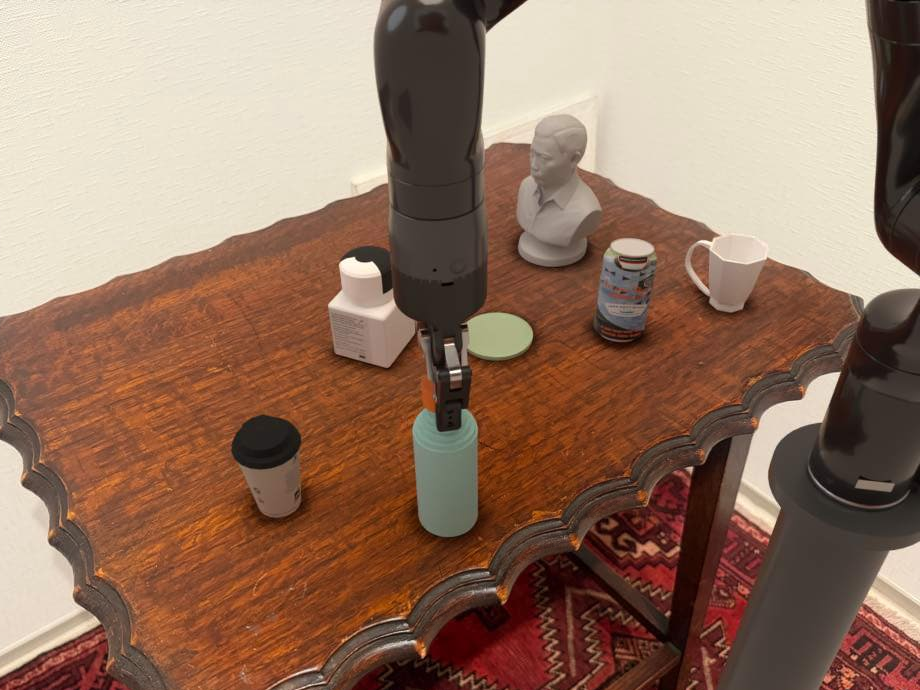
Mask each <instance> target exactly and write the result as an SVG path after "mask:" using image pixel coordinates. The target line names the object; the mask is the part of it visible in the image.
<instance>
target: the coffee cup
mask: <svg viewBox="0 0 920 690" xmlns="http://www.w3.org/2000/svg"><path fill="white" fill-rule="evenodd" d="M301 446H302V435H301V433H300V431H299V429H298V427H296V426H295V424H293V423H292V422H290V421H289V420H287V419H285V418H282V417H276V416H272V415H267V414H259V415H257V416H256V415H255V416H253V417H250V418H249V419H248V420H246V421H245V422H243V423H242V424H241V427H240V428H239V429H238V430H237V431H236V432H235V434H234V436H233V438H232V441H231V446H230V447H231V450H230V451H231V453H230V454H231V455H232V457H233V460H235V462H237V463H238V465H239V467H240V470H241V472H242V474H243V476H244V478H245V480H246V483H247V485H248V487H249V489H250V492H251V494H252V496H253V499H254V500H255V502H256V505H257V508H258V509H259V511H260V512H261V513H262V514H263V515H264V516H267V517H269V518H275V519H276V518H284V517H287V516H289V515H291V514H293V513H294V512H296V511H297V509H298V508H299V507H300V504H301V502H302V488H301V487H302V486H301V485H302V484H301V455H300V451H301V450H300V448H301Z"/></svg>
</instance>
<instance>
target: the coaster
mask: <svg viewBox="0 0 920 690" xmlns="http://www.w3.org/2000/svg"><path fill="white" fill-rule="evenodd" d="M465 323H467V324H468V329H469V344H468V346H467V353H468V354H470V355H471V356H473V357H475V358H478V359H481V360H486V361H498V362H499V361H508V360H512V359H515V358H518V357H520V356H521V355H523V354H525V353H526V352H527V351H528V350H530V348H531V346H532V344H533V341H534V331H533V328H532V327H531V326H530V324H529V322H527V321H526V320H524V319H523V318H521V317H520V316H517V315H515V314H511V313H507V312H506V313H505V312H487V313H482V314H479V315H476V316H474V317H471V318H470V319H469V320H468V321H465Z"/></svg>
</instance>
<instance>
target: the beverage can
mask: <svg viewBox="0 0 920 690" xmlns="http://www.w3.org/2000/svg"><path fill="white" fill-rule="evenodd" d="M601 265H602V266H601V272H600V278H599V279H600V280H599V287H598V293H597V299H596V306H595V312H594V319H593V329H594V330H595V332H597V333H598V334H599V335H600V336H601V337H602V338H604V339H606V340H609V341H611V342H616V343H627V342H631V341H633V340H636V339H638V338H640V337H641V336H642V335H643V334H644V333H645V327H646V323H647V317H648V312H649V307H650V301H651V296H652V291H653V287H654V286H653V285H654V281H655V275H656V271H657V265H658V257H657V254H656V253H655V246H654V245H653V244H651V243H650V242H648V241H646V240H643V239H639V238H632V237H623V238H618V239H615V240H613V241H612V242H611V243H610V246H609V247H608V248H607V250H605V252H604V254H603V260H602V264H601Z"/></svg>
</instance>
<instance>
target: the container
mask: <svg viewBox="0 0 920 690" xmlns="http://www.w3.org/2000/svg"><path fill="white" fill-rule="evenodd" d="M338 267H339V275H340V283H341V290H340V291H339V292H338V293H337V294H336V295H335V296H334V297H333V299H332V300H331V301H330V302H329V303H328V305H327V308H328V315H329V322H330V330H331V338H332V344H333V350H334V354H335V355H339V356H342V357H346V358H348V359H352V360H356V361H360V362H363V363H366V364H371V365H374V366H378V367H381V368H385V369H388V368H390V367H391V366H392V364H393V363H394V362H395V361H396V359H397V358H398V357H399V355H400V354H401V353H402V352H403V350H404V349H405V347H406V346H407V345H408V343H410V341H411V340H412V338H413V337H414V336H415V334H416V323H415V320H413V319H411V318H409V317H407V316H406V315H404V314H403V313H402V312H401V311H400V310H399V309H398V308H397V306H396V304H395V301H394V296H393V284H392V271H391V258H390V250H388V249H387V248H384V247H382V246H378V245H363V246H358V247H354V248H352V249H350V250H348V251H347V252H345V253H344V254H343V255H342V256H341V258H340V259H339V263H338Z"/></svg>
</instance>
